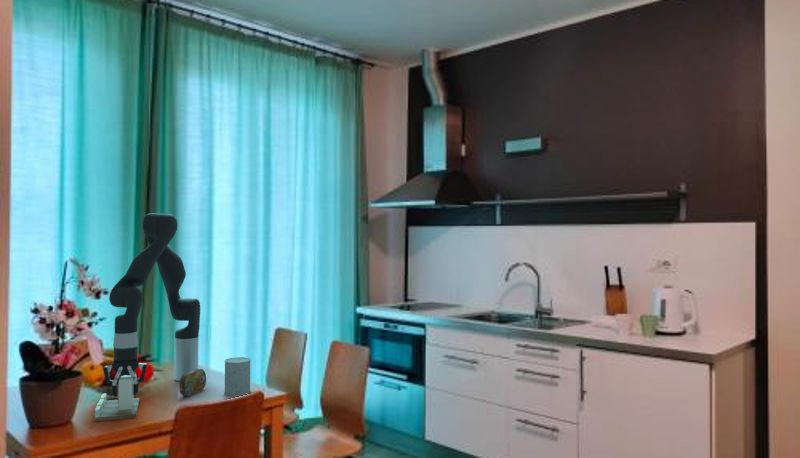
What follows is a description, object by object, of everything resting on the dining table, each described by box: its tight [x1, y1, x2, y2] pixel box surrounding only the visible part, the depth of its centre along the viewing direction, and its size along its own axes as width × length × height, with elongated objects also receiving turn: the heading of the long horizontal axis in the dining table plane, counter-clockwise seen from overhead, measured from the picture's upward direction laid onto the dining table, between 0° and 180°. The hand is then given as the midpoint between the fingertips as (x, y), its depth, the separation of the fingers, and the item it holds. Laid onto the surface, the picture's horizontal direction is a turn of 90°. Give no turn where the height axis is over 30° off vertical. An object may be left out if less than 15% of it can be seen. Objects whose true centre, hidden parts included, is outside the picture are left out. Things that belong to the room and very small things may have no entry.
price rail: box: [94, 393, 107, 419], centre depth 199 cm, size 20×1×3 cm, turn 20°
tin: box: [179, 368, 207, 397], centre depth 223 cm, size 15×3×8 cm, turn 168°
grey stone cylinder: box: [224, 356, 252, 397], centre depth 225 cm, size 10×10×12 cm
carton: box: [117, 375, 135, 410], centre depth 202 cm, size 4×8×10 cm, turn 20°
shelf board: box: [94, 397, 141, 422], centre depth 201 cm, size 20×12×1 cm, turn 20°
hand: (125, 395), depth 202 cm, fingers open, 5 cm apart
